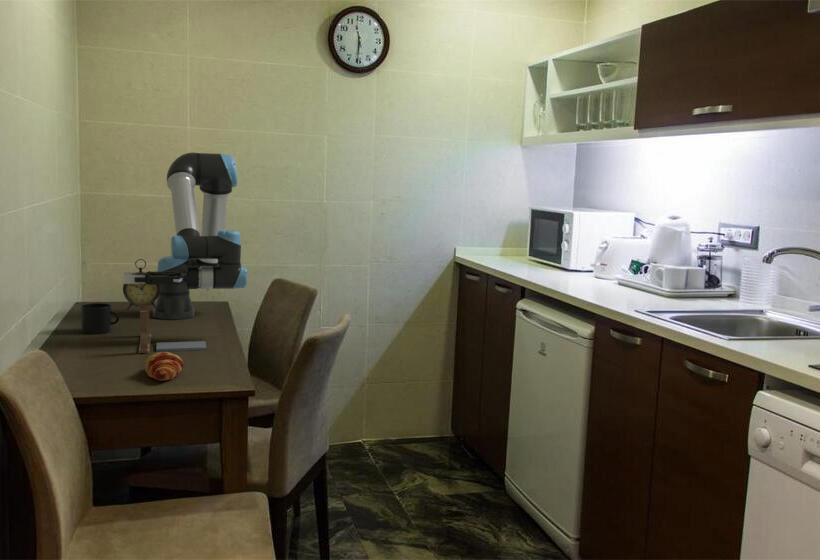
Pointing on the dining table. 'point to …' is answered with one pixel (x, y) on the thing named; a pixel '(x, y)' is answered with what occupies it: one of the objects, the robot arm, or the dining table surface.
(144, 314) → the slalom posts
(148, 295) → the alarm clock
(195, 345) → the pad
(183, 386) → the dining table surface
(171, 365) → the croissant
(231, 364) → the dining table surface
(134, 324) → the dining table surface
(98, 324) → the mug
